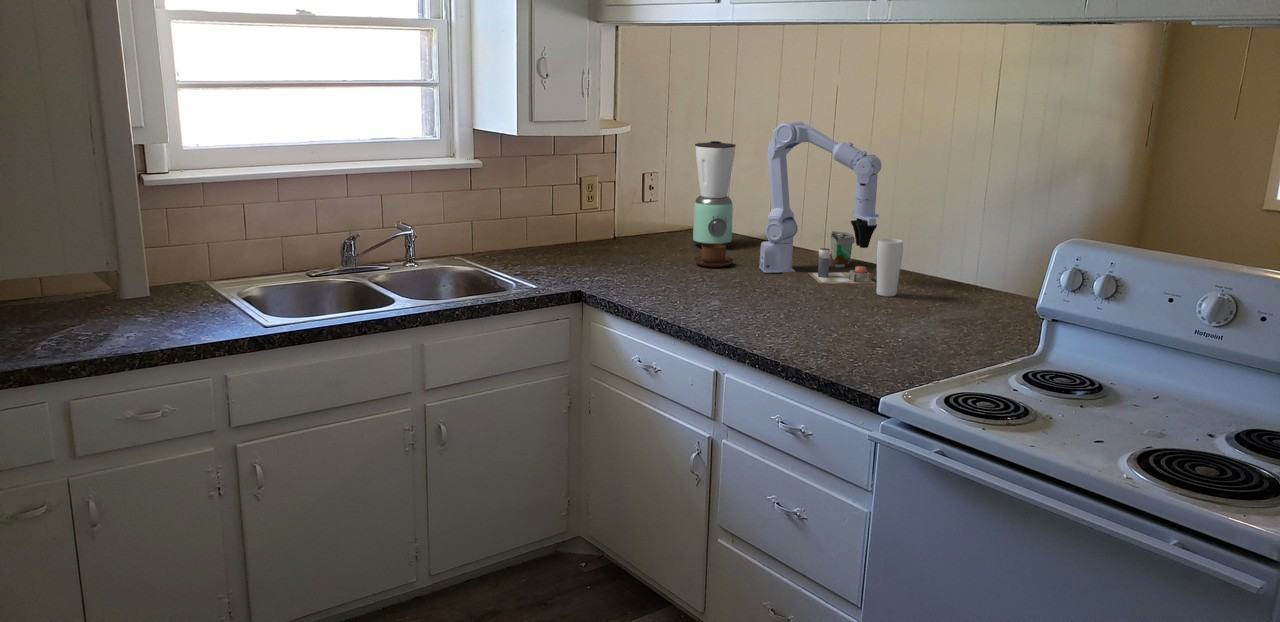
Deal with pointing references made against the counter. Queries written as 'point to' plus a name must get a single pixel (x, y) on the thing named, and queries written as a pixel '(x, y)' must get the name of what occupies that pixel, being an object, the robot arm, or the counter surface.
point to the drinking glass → (888, 266)
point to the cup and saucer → (713, 256)
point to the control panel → (844, 277)
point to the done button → (860, 269)
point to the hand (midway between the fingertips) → (862, 246)
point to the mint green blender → (713, 194)
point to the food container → (841, 249)
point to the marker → (823, 262)
